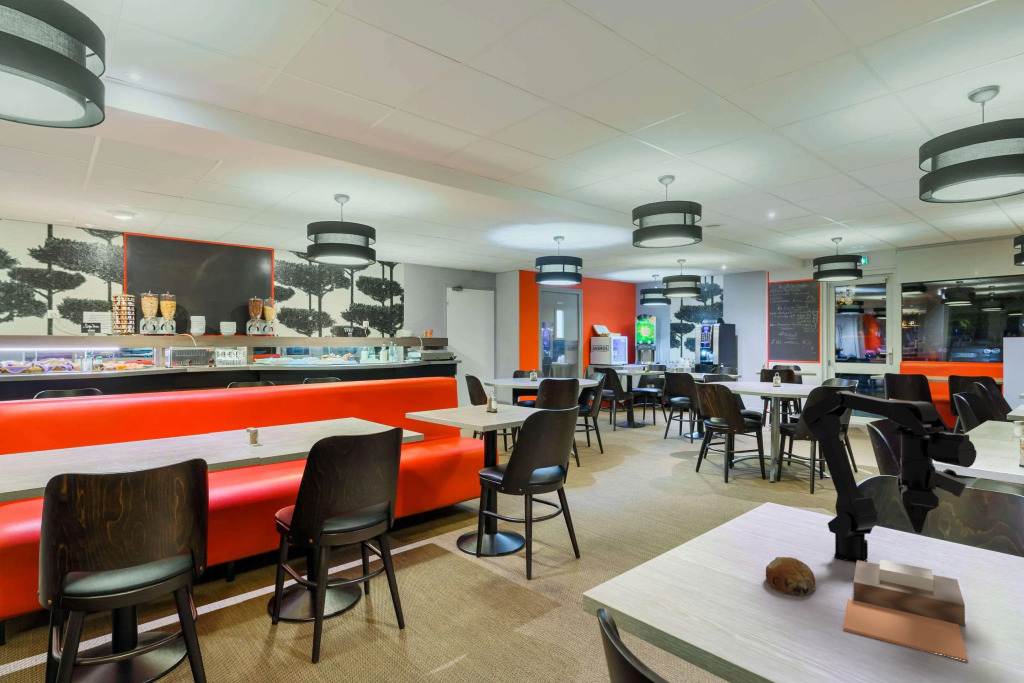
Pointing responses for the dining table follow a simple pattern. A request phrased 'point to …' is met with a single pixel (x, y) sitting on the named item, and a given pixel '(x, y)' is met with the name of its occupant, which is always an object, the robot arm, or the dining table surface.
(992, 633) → the dining table surface
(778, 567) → the bread roll
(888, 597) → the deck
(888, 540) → the dining table surface
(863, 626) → the mat
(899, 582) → the white rectangular block
